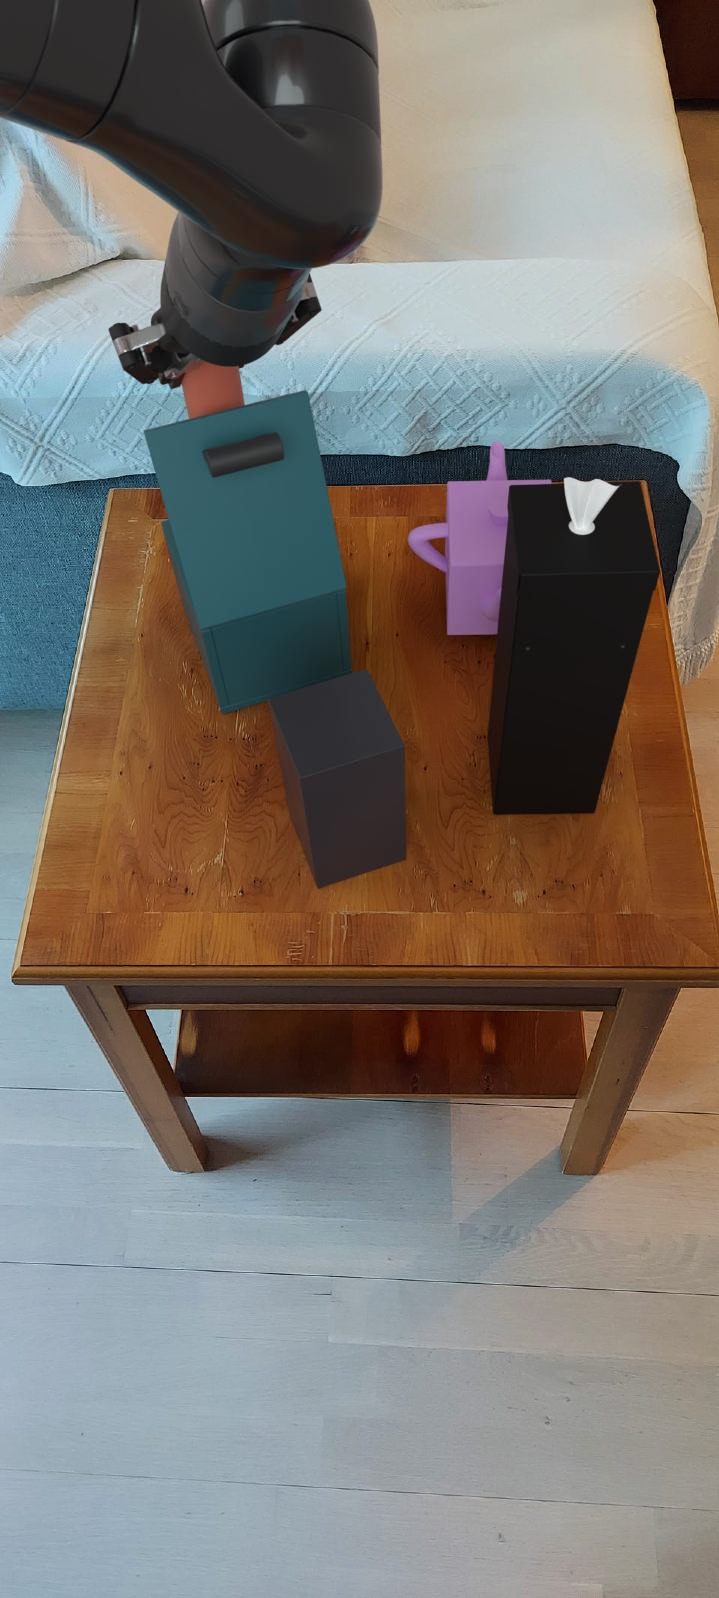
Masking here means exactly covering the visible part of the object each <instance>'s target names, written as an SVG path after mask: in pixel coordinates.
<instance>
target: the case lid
mask: <svg viewBox="0 0 719 1598" xmlns="http://www.w3.org/2000/svg"><path fill="white" fill-rule="evenodd" d="M309 395H310V394H309V391H307V390H305V389H304V390H300V391H296V392H291V393H287V394H283V395H280V396H279V395H278V396H275V397H272V398H267V399H264V400H259V401H256V402H252V403H248V404H245V405H243V406H239V407H235V408H231V409H227V410H223V411H219V412H215V413H211V414H207V415H203V416H199V417H195V418H191V419H189V418H187V419H184V420H180V421H175V422H171V423H168V424H163V425H159V426H156V427H152V428H147V429H144V430H143V434H144V437H145V441H146V445H147V448H148V453H149V455H150V459H151V462H152V466H153V468H154V474H155V476H156V480H157V484H158V487H159V491H160V494H161V497H162V501H163V504H164V508H165V512H166V515H167V520H169V522H170V526H171V529H172V533H173V536H174V540H175V543H176V547H177V550H178V554H179V557H180V560H181V564H182V567H183V571H184V574H185V578H186V581H187V585H188V588H189V592H190V595H191V599H192V602H193V606H194V609H195V613H196V616H197V620H198V623H199V626H200V628H201V629H204V628H208V627H211V626H215V625H218V624H222V623H225V622H229V621H232V620H236V619H239V618H243V617H246V616H250V615H254V614H257V613H261V612H264V611H268V610H271V609H275V608H278V607H282V606H285V605H289V604H292V603H296V602H299V601H303V600H306V599H310V598H313V597H317V596H320V595H324V594H328V593H331V592H335V591H338V590H342V589H345V590H346V589H347V588H348V585H347V581H346V576H345V570H344V566H343V561H342V556H341V550H340V546H339V540H338V536H337V530H336V525H335V521H334V516H333V510H332V506H331V501H330V496H329V490H328V487H327V480H326V476H325V471H324V466H323V461H322V456H321V450H320V446H319V441H318V437H317V435H318V434H317V431H316V426H315V421H314V416H313V415H314V414H313V410H312V406H311V401H310V396H309Z"/></svg>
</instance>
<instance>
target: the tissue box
mask: <svg viewBox="0 0 719 1598" xmlns="http://www.w3.org/2000/svg"><path fill="white" fill-rule="evenodd" d="M645 501H646V500H645V497H644V492H643V488H642V483H641V481H640V480H639V481H638V480H633V481H631V480H630V481H605V480H602V479H599V478H595V479H593V480H590V481H582V480H578V479H576V478H574V477H568V476H567V477H564V478H563V483H552V484H528V485H510V486H509V493H508V504H507V509H508V523H507V534H506V545H505V555H504V566H503V576H502V587H501V598H500V608H499V619H498V630H497V634H496V642H495V653H494V661H493V662H494V664H493V672H492V675H493V676H492V684H491V695H490V705H489V713H488V714H489V716H488V726H487V735H486V736H487V749H488V750H487V751H488V760H489V761H488V765H489V776H490V777H489V779H490V791H491V801H492V802H491V803H492V814H493V815H494V816H503V815H504V816H507V815H511V816H512V815H514V816H515V815H516V816H517V815H570V814H571V815H575V814H578V815H581V814H595V813H596V810H597V806H598V803H599V800H600V799H599V798H600V795H601V791H602V789H603V784H604V780H605V776H606V773H607V768H608V765H609V761H610V758H611V753H612V750H613V746H614V742H615V740H616V739H615V738H616V736H617V731H618V728H619V727H618V726H619V723H620V719H621V716H622V712H623V709H624V704H625V701H626V696H627V694H628V689H629V685H630V682H631V678H632V674H633V670H634V666H635V662H636V658H637V655H638V651H639V648H640V644H641V640H642V636H643V632H644V628H645V624H646V622H647V617H648V613H649V610H650V606H651V602H652V598H653V594H654V591H656V589H657V585H658V581H659V577H660V574H661V568H660V564H659V563H660V562H659V559H658V554H657V551H656V550H657V549H656V546H655V542H654V537H653V533H652V528H651V524H650V520H649V513H648V511H647V507H646V502H645Z"/></svg>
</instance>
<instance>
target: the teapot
mask: <svg viewBox="0 0 719 1598" xmlns="http://www.w3.org/2000/svg"><path fill="white" fill-rule="evenodd" d="M487 472H488V473H487V476H486V480H461V481H459V480H458V481H457V480H456V481H454V480H453V481H452V480H449V481H447V482H446V483H447V484H446V488H447V489H446V509H445V510H446V513H445V514H446V515H445V522H437V523H429V524H424V525H421V526H418V527H415V528H413V529H412V530H411V531H410V532H409V534H408V537H407V541H408V542H407V543H408V545H409V547H410V548H411V550H412V551H413V552H414V553H415V554H416V555H417V556H418V557H419V558H421V560H423V561H425V562H426V563H428V564H429V565H431V566H433V567H435V568H436V569H438V570H439V571H442V572H443V573H444V574H445V604H446V636H461V635H462V636H468V635H469V636H471V635H475V636H476V635H477V636H478V635H479V636H480V635H488V636H489V635H497V630H498V619H499V608H500V598H501V587H502V576H503V566H504V555H505V545H506V534H507V523H508V509H507V504H508V493H509V486H510V485H528V484H553V482H552V479H510V480H509V479H508V475H507V467H506V451H505V448H504V445H503V443H502V442H500V441H494V442H492V443H491V446H490V450H489V465H488V471H487ZM435 539H445V544H444V548H445V549H444V550H445V551H444V555H443V554H442V553H440V551H438V550H436V548H434V546H433V545H432V544H431V543H430V541H431V540H435Z"/></svg>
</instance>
